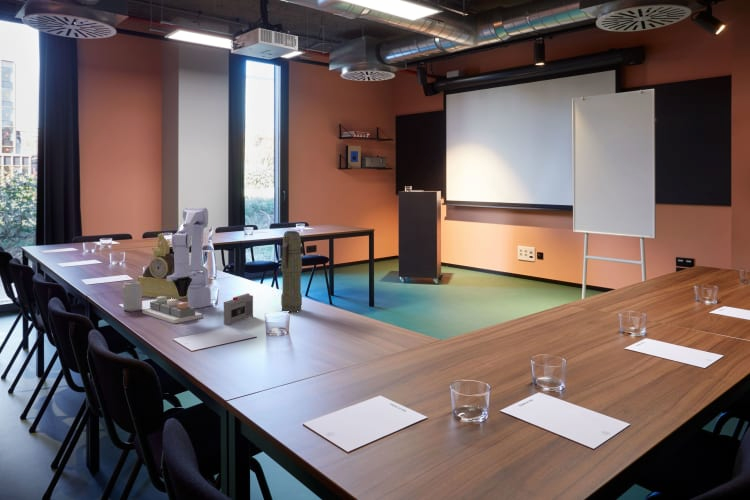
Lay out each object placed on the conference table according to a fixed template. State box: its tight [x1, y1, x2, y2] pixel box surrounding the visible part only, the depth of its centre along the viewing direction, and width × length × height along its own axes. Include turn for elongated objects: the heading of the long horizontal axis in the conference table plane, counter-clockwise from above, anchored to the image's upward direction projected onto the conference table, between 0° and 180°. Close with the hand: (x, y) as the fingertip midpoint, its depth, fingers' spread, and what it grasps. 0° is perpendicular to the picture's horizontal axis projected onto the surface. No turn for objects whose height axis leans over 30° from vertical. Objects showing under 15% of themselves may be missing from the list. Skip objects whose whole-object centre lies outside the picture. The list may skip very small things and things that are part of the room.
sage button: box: [156, 296, 168, 304], centre depth 231 cm, size 4×4×3 cm
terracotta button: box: [177, 301, 188, 310], centre depth 221 cm, size 4×4×3 cm
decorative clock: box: [137, 233, 188, 301], centre depth 263 cm, size 28×13×30 cm, turn 73°
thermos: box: [280, 230, 303, 313], centre depth 237 cm, size 9×12×35 cm
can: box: [122, 280, 143, 312], centre depth 234 cm, size 8×8×12 cm
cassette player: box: [223, 293, 254, 326], centre depth 220 cm, size 16×3×10 cm, turn 157°
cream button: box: [167, 299, 178, 307], centre depth 226 cm, size 4×4×3 cm
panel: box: [142, 300, 204, 324], centre depth 226 cm, size 13×24×4 cm, turn 51°
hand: (182, 296), depth 220 cm, fingers closed
